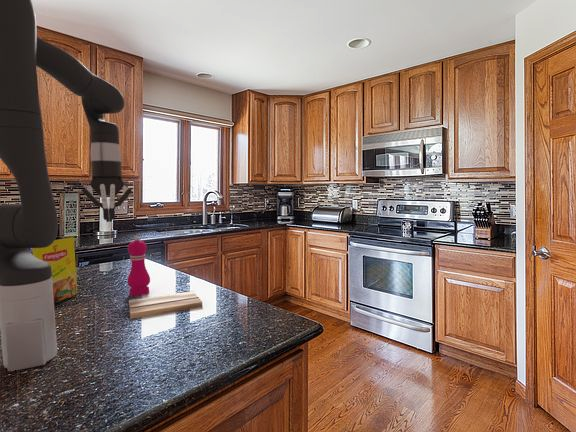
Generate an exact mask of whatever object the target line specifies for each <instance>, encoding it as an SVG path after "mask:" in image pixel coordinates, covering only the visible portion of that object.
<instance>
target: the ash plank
mask: <svg viewBox="0 0 576 432" xmlns="http://www.w3.org/2000/svg"><path fill="white" fill-rule="evenodd" d="M194 297H198V295H197V294H196V293H195V292H194V291H193V290H191V291H184V292H183V291H182V292H179V293H178V292H176V293H170V294H163V295H157V296H156V295H155V296H149V297H142V298H136V299H129V300H128V306H129V307H136V306H142V305H148V304H155V303H161V302H168V301H174V300H181V299H187V298H194Z"/></svg>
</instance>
